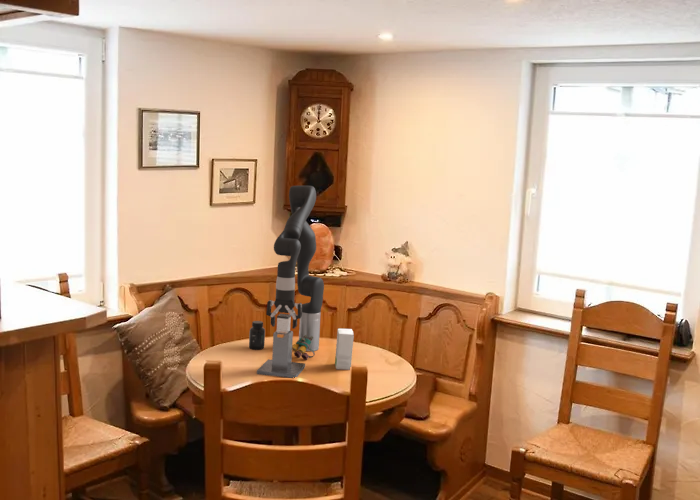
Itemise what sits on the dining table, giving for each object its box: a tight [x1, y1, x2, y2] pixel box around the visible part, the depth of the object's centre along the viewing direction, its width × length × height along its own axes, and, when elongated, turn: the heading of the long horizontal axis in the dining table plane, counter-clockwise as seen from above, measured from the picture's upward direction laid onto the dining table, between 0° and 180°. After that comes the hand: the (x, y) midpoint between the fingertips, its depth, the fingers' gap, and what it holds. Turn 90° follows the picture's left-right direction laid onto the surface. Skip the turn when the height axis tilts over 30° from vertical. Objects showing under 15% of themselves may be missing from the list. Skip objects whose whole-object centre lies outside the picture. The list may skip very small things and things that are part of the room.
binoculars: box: [292, 335, 316, 361], centre depth 308 cm, size 9×9×10 cm
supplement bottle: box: [248, 320, 266, 351], centre depth 318 cm, size 7×7×12 cm
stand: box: [256, 330, 306, 379], centre depth 289 cm, size 16×16×16 cm
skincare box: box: [334, 328, 355, 371], centre depth 299 cm, size 8×7×16 cm
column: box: [276, 313, 292, 334], centre depth 288 cm, size 5×5×21 cm
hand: (283, 327), depth 287 cm, fingers open, 8 cm apart
